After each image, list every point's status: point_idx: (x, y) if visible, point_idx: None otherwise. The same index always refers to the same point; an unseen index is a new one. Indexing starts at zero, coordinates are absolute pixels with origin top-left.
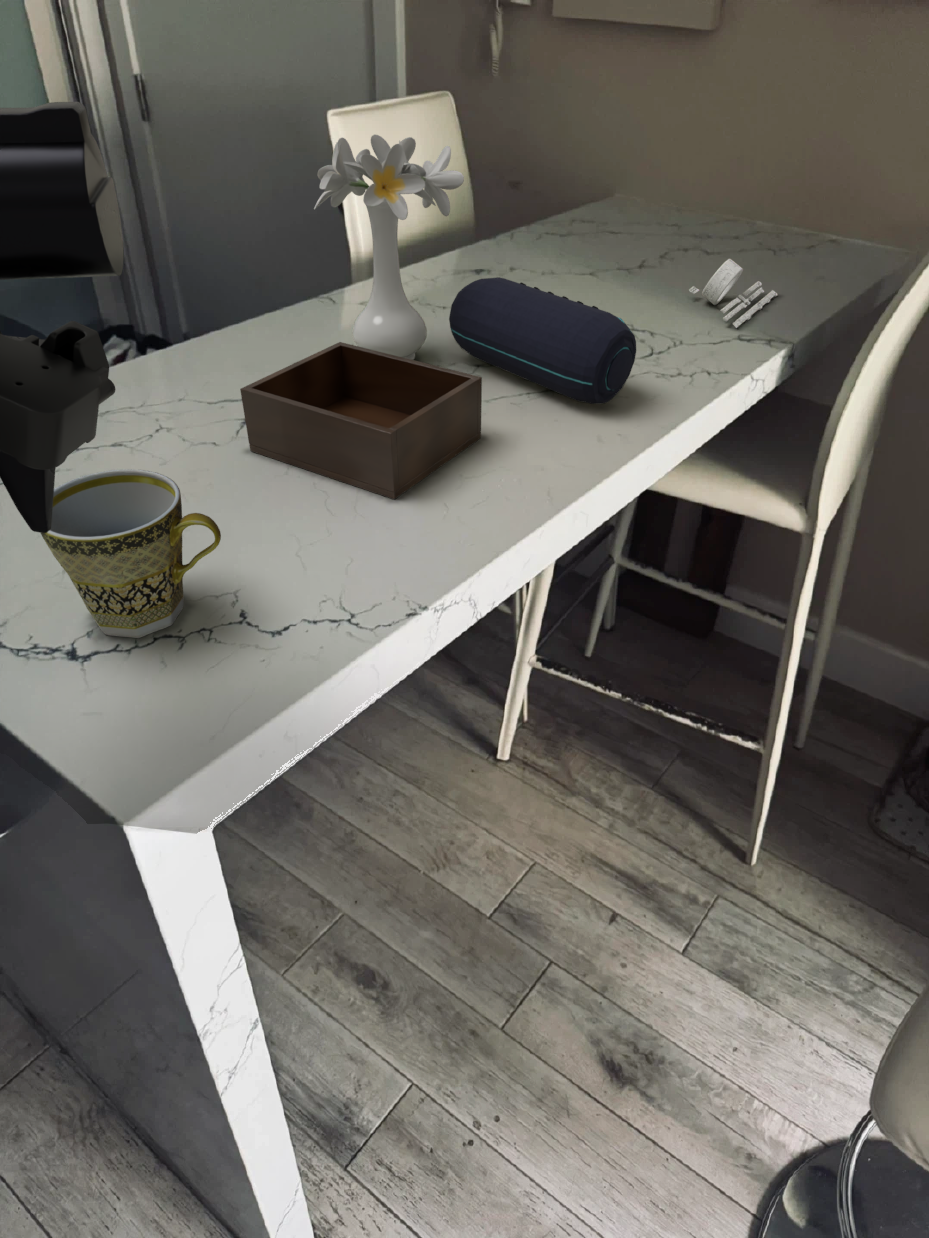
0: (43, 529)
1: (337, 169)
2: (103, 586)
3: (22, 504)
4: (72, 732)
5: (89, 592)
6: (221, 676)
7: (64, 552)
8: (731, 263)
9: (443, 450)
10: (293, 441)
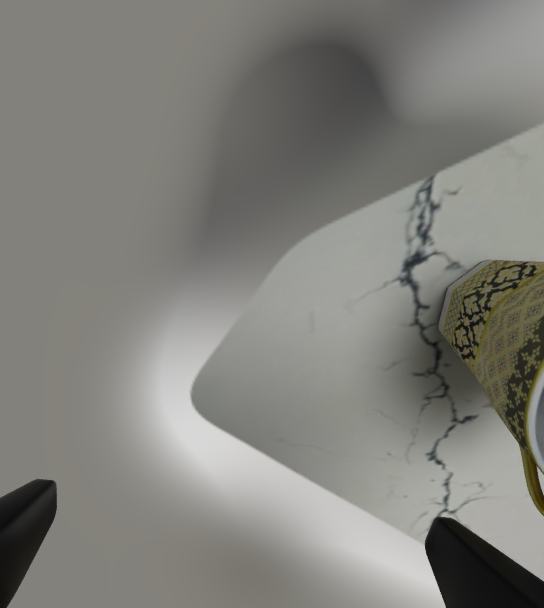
0: (429, 551)
1: None
2: (478, 348)
3: (485, 593)
4: (283, 312)
5: (479, 316)
6: (367, 424)
7: (525, 341)
8: None
9: None
10: None
